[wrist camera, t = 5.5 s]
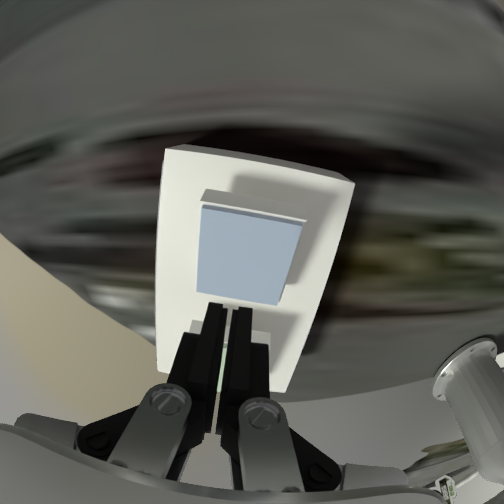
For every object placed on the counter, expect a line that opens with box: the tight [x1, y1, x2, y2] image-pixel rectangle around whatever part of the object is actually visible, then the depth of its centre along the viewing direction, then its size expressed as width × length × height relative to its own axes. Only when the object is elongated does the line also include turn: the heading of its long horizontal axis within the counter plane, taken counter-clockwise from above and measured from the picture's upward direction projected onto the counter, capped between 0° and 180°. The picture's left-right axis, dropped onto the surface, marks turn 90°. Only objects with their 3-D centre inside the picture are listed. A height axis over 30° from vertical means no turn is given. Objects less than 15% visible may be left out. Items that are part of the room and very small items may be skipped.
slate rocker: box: [195, 189, 306, 306], centre depth 19 cm, size 6×7×2 cm
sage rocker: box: [189, 319, 271, 392], centre depth 23 cm, size 6×7×2 cm
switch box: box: [155, 144, 355, 393], centre depth 25 cm, size 13×21×6 cm, turn 170°
